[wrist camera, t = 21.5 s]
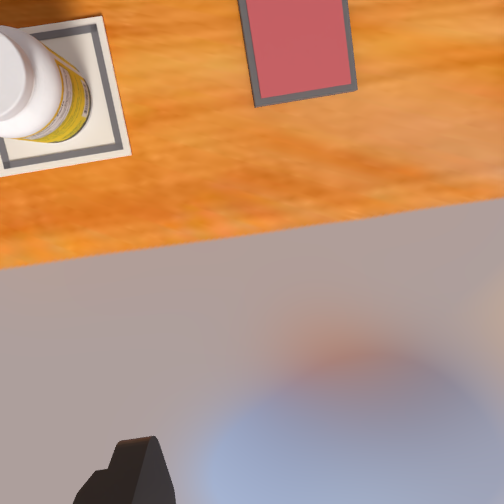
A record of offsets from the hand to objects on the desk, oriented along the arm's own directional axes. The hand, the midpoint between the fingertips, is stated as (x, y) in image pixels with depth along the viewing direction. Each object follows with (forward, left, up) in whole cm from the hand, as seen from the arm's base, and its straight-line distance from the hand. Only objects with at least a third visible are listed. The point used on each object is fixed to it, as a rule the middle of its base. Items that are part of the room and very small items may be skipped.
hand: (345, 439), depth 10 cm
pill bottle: (+13, -13, -28) cm, 33 cm away
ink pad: (-6, -14, -28) cm, 32 cm away
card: (+13, -13, -28) cm, 33 cm away
